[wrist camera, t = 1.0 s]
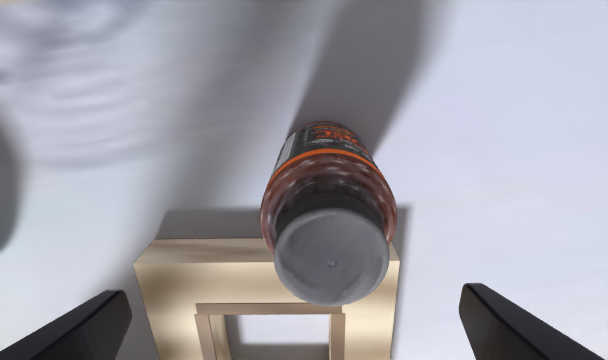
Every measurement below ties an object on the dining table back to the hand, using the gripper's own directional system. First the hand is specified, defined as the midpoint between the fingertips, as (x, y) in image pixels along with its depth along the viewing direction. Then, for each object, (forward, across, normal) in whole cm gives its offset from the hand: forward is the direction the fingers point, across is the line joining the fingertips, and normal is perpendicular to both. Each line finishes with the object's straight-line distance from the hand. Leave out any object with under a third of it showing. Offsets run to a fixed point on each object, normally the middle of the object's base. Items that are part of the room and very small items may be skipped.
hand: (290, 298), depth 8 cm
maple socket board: (+13, +3, +16) cm, 21 cm away
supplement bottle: (+14, -1, +1) cm, 14 cm away
